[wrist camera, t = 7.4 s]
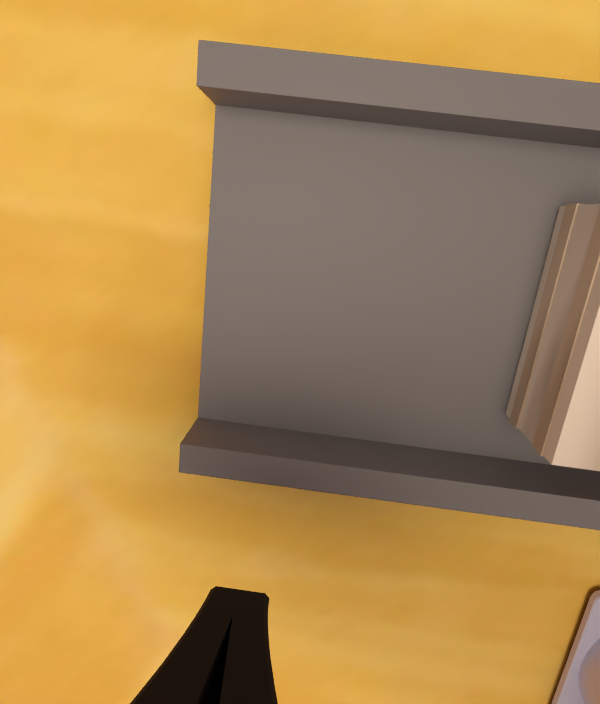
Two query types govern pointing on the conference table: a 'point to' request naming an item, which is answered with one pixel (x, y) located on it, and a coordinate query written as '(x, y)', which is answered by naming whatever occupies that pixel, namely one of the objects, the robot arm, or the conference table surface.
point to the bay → (383, 276)
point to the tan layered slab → (564, 347)
